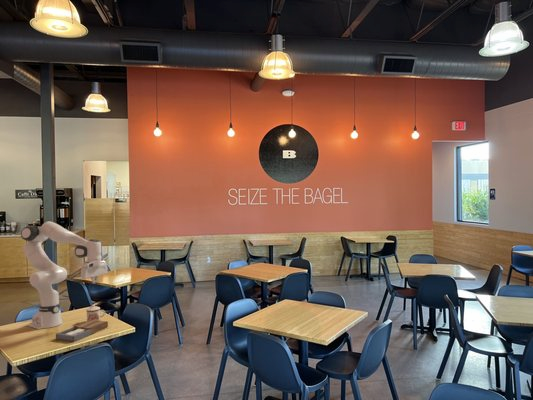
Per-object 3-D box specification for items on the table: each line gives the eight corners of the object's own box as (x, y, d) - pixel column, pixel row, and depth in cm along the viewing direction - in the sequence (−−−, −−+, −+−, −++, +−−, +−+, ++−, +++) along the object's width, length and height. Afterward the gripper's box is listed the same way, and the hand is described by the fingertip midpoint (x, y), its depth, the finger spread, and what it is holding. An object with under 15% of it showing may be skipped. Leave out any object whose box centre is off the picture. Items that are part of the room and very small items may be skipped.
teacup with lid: (86, 324, 257) (86, 307, 257) (86, 320, 266) (86, 304, 266) (105, 321, 263) (104, 305, 263) (104, 317, 271) (104, 302, 271)
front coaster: (72, 331, 235) (72, 335, 235) (65, 334, 231) (65, 338, 231) (77, 332, 233) (77, 336, 233) (70, 334, 229) (71, 338, 229)
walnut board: (73, 332, 242) (73, 326, 242) (91, 325, 255) (90, 319, 255) (91, 334, 237) (91, 328, 237) (107, 327, 250) (107, 321, 250)
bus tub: (56, 339, 230) (55, 333, 230) (73, 332, 242) (73, 326, 242) (73, 342, 225) (73, 336, 225) (91, 334, 237) (91, 329, 237)
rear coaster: (72, 335, 235) (72, 331, 235) (79, 332, 240) (79, 328, 240) (78, 336, 233) (78, 332, 233) (85, 333, 238) (85, 329, 238)
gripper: (102, 260, 267) (103, 279, 267) (78, 265, 248) (79, 285, 248) (109, 260, 265) (109, 279, 265) (85, 265, 246) (85, 286, 246)
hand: (94, 282), depth 256 cm, fingers closed
